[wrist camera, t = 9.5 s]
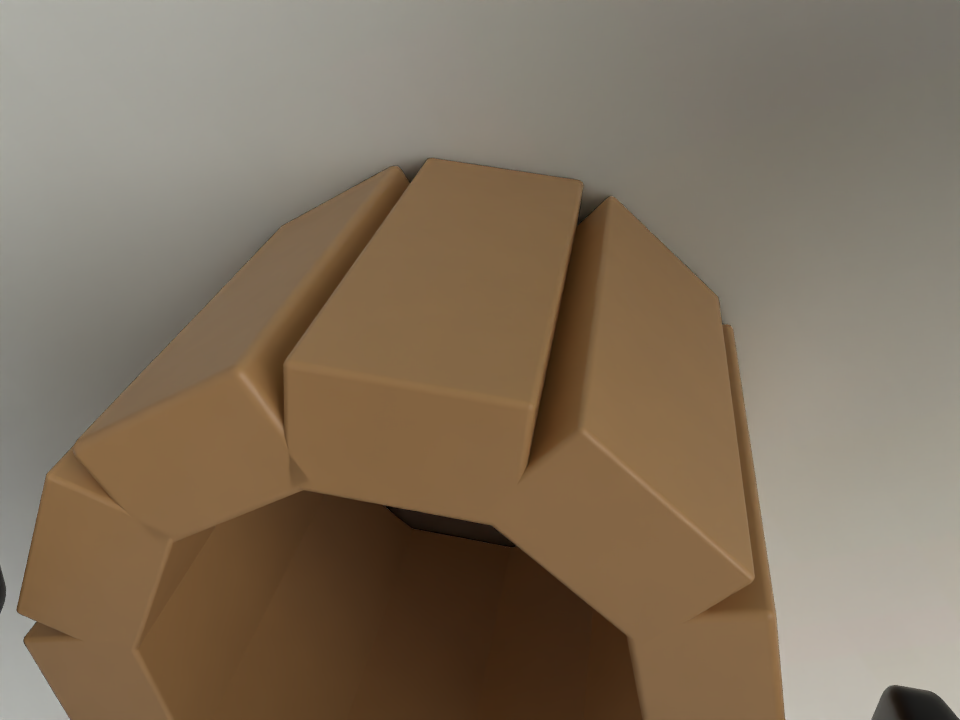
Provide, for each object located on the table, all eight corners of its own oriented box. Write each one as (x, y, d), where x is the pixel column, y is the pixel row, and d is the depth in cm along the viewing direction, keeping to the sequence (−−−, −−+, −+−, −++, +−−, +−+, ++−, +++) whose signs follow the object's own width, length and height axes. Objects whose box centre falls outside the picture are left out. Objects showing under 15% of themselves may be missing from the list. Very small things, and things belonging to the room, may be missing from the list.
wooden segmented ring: (498, 667, 15) (436, 995, 11) (141, 391, 14) (-98, 650, 9) (859, 431, 12) (972, 768, 8) (444, 30, 10) (290, 172, 6)
